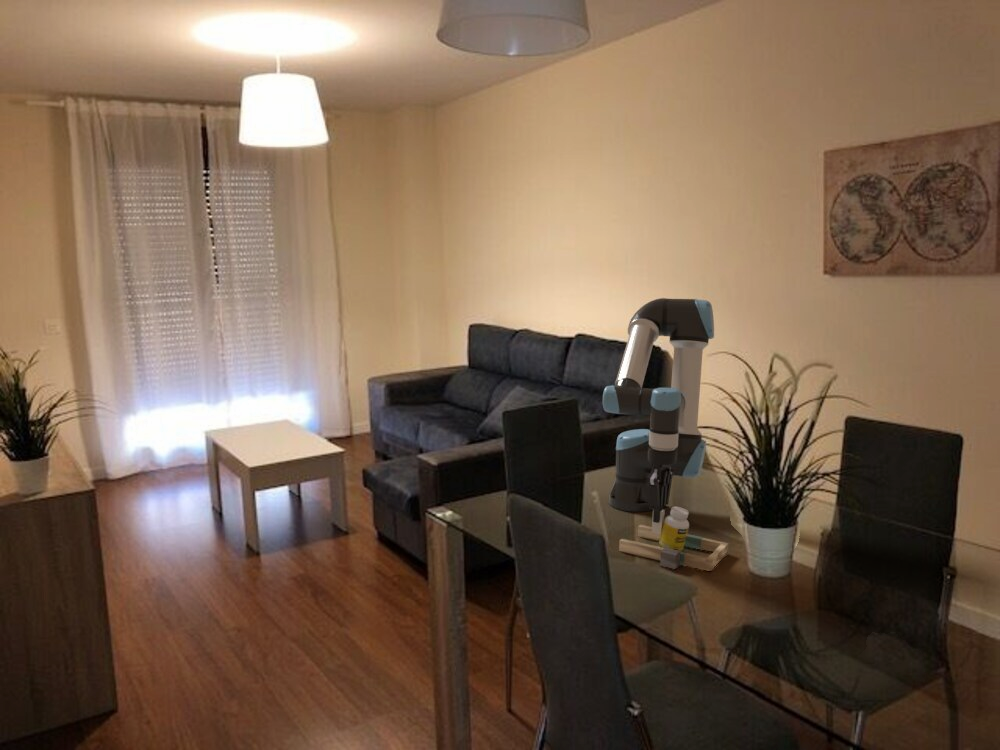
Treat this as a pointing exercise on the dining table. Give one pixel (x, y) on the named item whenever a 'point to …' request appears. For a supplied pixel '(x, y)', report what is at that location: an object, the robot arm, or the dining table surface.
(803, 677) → the dining table surface
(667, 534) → the pill bottle
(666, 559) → the beam track
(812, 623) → the dining table surface
